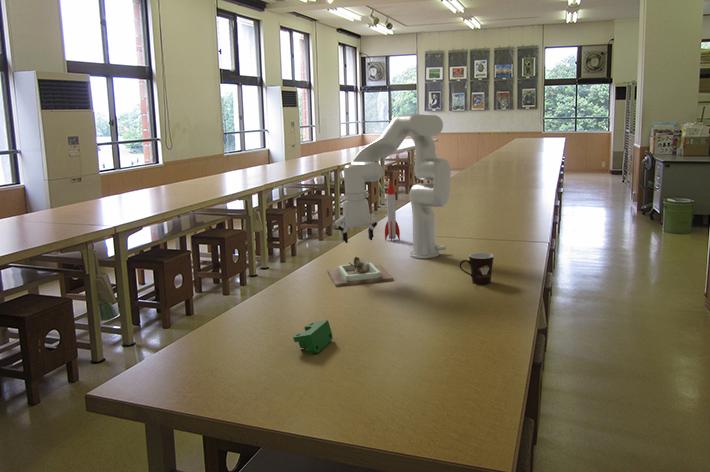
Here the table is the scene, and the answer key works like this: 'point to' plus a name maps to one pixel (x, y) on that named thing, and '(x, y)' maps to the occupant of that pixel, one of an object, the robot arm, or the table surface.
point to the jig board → (358, 275)
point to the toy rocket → (391, 215)
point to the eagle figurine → (360, 266)
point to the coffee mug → (480, 267)
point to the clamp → (314, 336)
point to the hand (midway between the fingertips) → (358, 240)
